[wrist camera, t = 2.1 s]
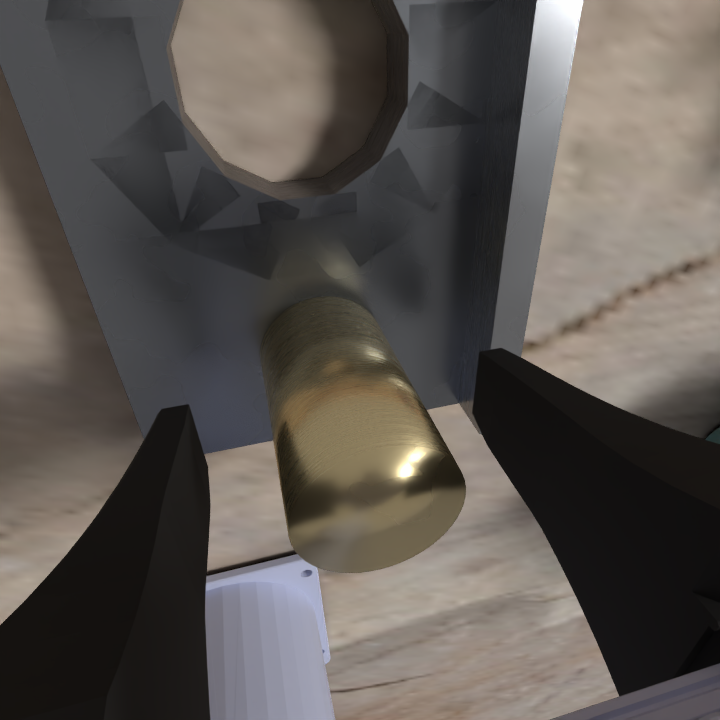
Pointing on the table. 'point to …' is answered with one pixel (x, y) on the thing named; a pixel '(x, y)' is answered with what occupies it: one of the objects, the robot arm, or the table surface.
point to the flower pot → (714, 436)
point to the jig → (296, 199)
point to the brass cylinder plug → (353, 442)
